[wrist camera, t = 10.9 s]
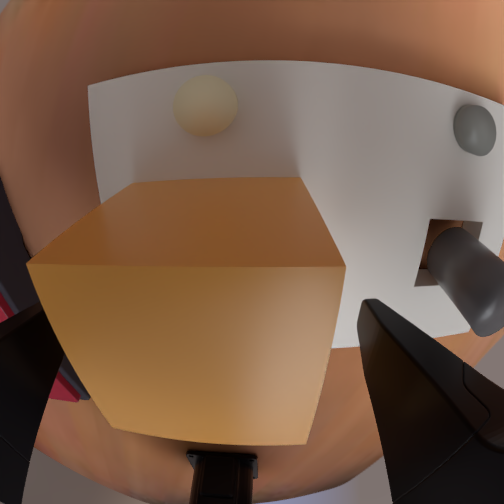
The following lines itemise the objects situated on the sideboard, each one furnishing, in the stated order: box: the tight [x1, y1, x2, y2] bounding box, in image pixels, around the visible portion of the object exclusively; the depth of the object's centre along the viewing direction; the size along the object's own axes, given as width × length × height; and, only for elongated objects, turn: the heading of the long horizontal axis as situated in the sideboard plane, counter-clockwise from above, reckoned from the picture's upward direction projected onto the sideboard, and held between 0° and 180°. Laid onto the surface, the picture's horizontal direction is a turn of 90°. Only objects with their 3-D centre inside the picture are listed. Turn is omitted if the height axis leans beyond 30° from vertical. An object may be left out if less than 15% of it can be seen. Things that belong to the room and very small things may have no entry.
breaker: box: [427, 227, 504, 337], centre depth 9 cm, size 3×3×4 cm
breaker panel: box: [88, 60, 504, 348], centre depth 11 cm, size 12×18×2 cm, turn 92°
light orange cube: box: [26, 177, 346, 445], centre depth 9 cm, size 6×6×6 cm
